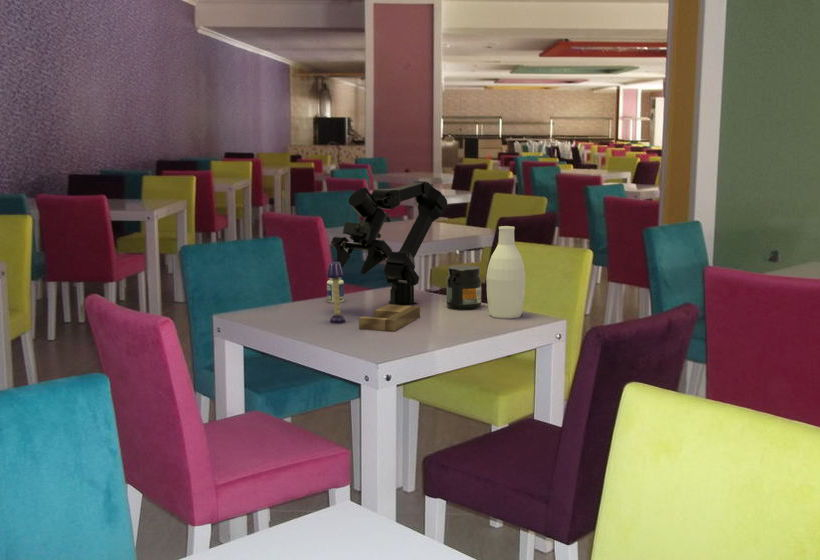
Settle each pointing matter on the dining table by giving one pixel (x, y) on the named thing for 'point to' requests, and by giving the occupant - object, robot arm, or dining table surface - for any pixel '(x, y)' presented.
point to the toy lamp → (336, 290)
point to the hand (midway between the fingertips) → (349, 272)
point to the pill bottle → (330, 290)
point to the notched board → (390, 318)
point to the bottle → (506, 278)
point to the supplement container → (463, 287)
